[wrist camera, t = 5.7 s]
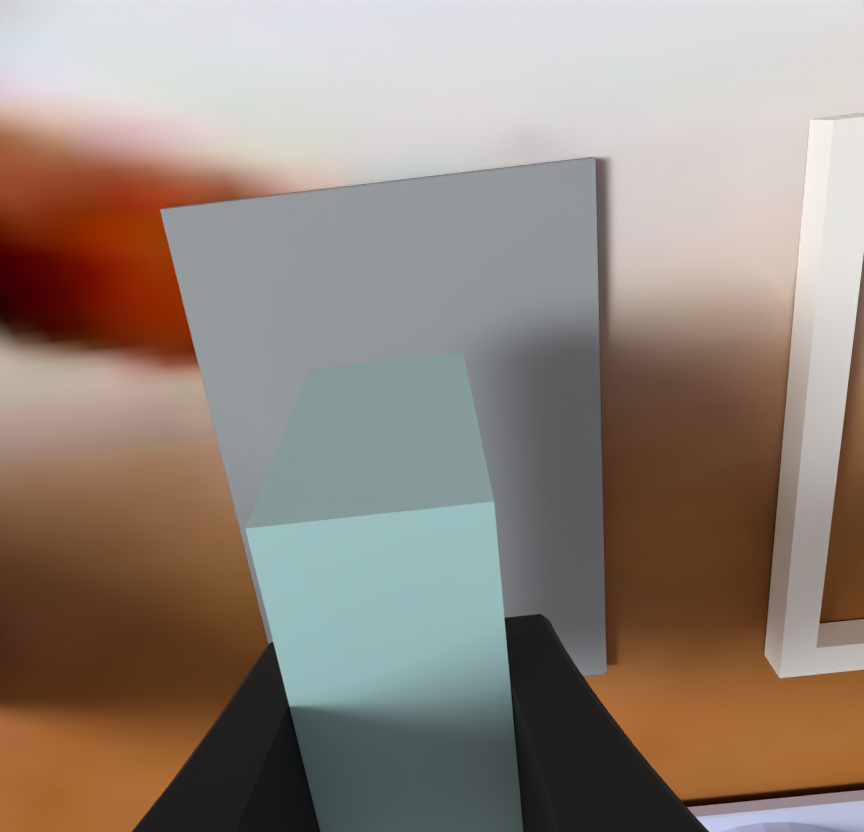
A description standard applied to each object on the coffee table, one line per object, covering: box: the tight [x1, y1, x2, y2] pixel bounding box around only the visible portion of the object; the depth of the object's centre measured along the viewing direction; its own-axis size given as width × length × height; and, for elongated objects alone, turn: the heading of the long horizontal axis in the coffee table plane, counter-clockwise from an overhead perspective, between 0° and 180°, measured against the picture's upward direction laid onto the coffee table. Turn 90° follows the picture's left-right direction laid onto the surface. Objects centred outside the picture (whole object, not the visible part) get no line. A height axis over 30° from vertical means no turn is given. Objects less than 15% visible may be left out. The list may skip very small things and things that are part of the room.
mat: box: [160, 157, 607, 676], centre depth 16 cm, size 12×8×1 cm, turn 6°
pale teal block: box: [245, 352, 523, 832], centre depth 11 cm, size 8×2×5 cm, turn 6°
